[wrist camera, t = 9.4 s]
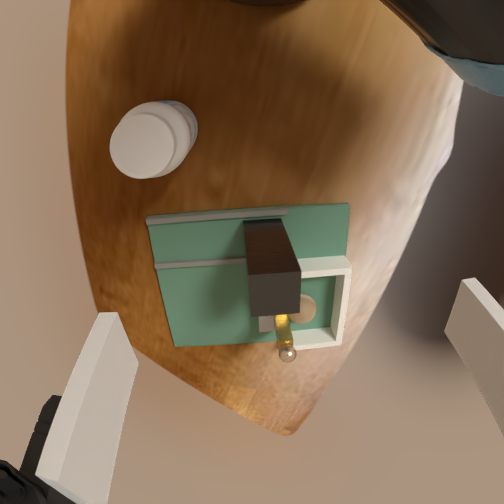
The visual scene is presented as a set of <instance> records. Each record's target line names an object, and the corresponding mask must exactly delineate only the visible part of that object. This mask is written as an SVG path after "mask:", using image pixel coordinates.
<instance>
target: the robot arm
mask: <svg viewBox="0 0 504 504" xmlns="http://www.w3.org/2000/svg"><path fill="white" fill-rule="evenodd" d="M231 1H234V2H238V3H242V4H248V5H257V6H272V5H281V4H286V3H290V2H294V1H297V0H231ZM380 1H381V2H382V3H383V4H384V5H386V6H387V7H388V8H389V9H390V10H391V11H392V12H394V13H395V14H396V15H397V16H398V17H399V18H400V19H401V20H402V21H403V22H404V23H406V24H407V25H408V26H409V27H410V28H411V29H412V30H413V31H414V32H415V33H416V34H417V35H418V36H419V37H420V39H421V40H422V42H423V43H424V45H425V46H426V47H427V48H428V49H429V50H430V51H431V52H433V53H434V54H436V55H437V56H439V57H441V58H442V59H443V60H444V61H445V62H446V63H447V64H448V65H449V67H450V68H451V69H452V70H453V71H454V72H455V73H456V74H457V75H458V76H459V77H460V78H461V79H462V80H464V81H465V82H466V83H468V84H469V85H471V86H473V87H475V88H478V89H482V90H484V91H485V92H488V93H490V94H493V95H499V96H504V0H380ZM444 332H445V334H446V335H447V337H448V338H449V340H450V341H451V343H452V345H453V346H454V348H455V349H456V351H457V352H458V354H459V356H460V357H461V359H462V361H463V362H464V364H465V366H466V367H467V369H468V371H469V372H470V374H471V376H472V378H473V379H474V381H475V383H476V384H477V386H478V388H479V390H480V392H481V393H482V395H483V397H484V399H485V401H486V403H487V404H488V406H489V408H490V410H491V412H492V414H493V416H494V418H495V420H496V422H497V423H498V425H499V427H500V429H501V431H502V434H503V436H504V310H503V309H502V308H501V306H500V305H499V304H498V303H497V302H496V300H494V298H493V297H492V296H491V295H490V294H489V293H488V291H487V290H486V289H485V288H484V287H483V286H482V285H481V284H480V282H479V281H478V280H477V279H476V278H471V279H465V280H462V281H461V285H460V288H459V291H458V294H457V297H456V300H455V303H454V306H453V308H452V311H451V314H450V317H449V320H448V323H447V325H446V328H445V330H444ZM138 364H139V363H138V361H137V359H136V356H135V354H134V352H133V350H132V347H131V345H130V342H129V340H128V337H127V335H126V333H125V330H124V328H123V325H122V323H121V320H120V318H119V315H118V312H103V313H99V314H98V317H97V319H96V320H95V322H94V325H93V327H92V329H91V331H90V333H89V335H88V338H87V340H86V342H85V344H84V346H83V349H82V351H81V353H80V355H79V357H78V360H77V362H76V364H75V367H74V369H73V371H72V374H71V376H70V378H69V381H68V383H67V386H66V389H65V391H64V393H63V396H56V395H52V397H51V398H50V399H49V400H48V401H47V402H46V404H45V405H44V406H43V408H42V410H41V413H40V415H39V418H38V422H37V423H36V426H35V428H34V432H33V434H32V436H31V439H30V442H29V445H28V447H27V451H26V453H25V456H24V459H23V462H22V465H21V468H20V470H19V471H18V470H17V469H15V468H14V467H13V466H12V465H11V464H9V463H8V462H7V461H4V460H0V504H107V502H108V495H109V491H110V485H111V480H112V474H113V470H114V464H115V460H116V455H117V450H118V446H119V441H120V436H121V432H122V428H123V424H124V419H125V415H126V411H127V407H128V403H129V399H130V395H131V390H132V387H133V383H134V379H135V375H136V372H137V368H138Z"/></svg>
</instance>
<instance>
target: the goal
mask: <svg viewBox="0 0 504 504" xmlns="http://www.w3.org/2000/svg"><path fill="white" fill-rule="evenodd" d="M297 260H298V263H299V266H300V268H301V271H302V274H301V278H311V277H322V276H334V275H336V282H335V292H334V301H333V309H332V317H331V325H330V327H325V328H316V329H307V330H297V331H291V332H292V336H293V347H294V348H295V349H296V350H304V349H312V348H321V347H329V346H336V345H341V342H342V336H343V330H344V324H345V317H346V311H347V304H348V297H349V290H350V283H351V275H352V266H351V265H350V263H349V262H348V260H347V258H346V257H345V255H342V256H329V257H315V258H302V259H297Z"/></svg>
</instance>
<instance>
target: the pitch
mask: <svg viewBox="0 0 504 504" xmlns="http://www.w3.org/2000/svg"><path fill="white" fill-rule="evenodd" d="M349 210H350V205H349V204H348V203H340V204H315V205H293V206H274V207H257V208H242V209H227V210H213V211H200V212H188V213H176V214H165V215H154V216H148V217H147V218H146V225H148V229H149V235H150V240H151V245H152V250H153V255H154V260H155V263H154V267H155V269H156V270H157V275H158V279H159V284H160V288H161V293H162V297H163V301H164V306H165V310H166V314H167V318H168V322H169V326H170V330H171V334H172V338H173V342H174V346H175V347H178V346H206V345H225V344H241V343H255V342H267V341H277V338H276V333H275V328H274V331H269V332H259V325H258V317H251V312H250V302H249V292H248V281H247V271H246V260H245V247H244V231H243V220H256V219H272V218H281V219H282V222H283V225H284V227H285V230H286V232H287V235H288V237H289V240H290V242H291V245H292V247H293V250H294V253H295V255H296V258H297V259H302V258H315V257H329V256H342V255H345V257H346V247H347V235H348V223H349ZM335 282H336V275H334V276H322V277H311V278H301V294H306V295H309V296H310V297H311V298H312V299H313V300H314V301H315V304H316V314H315V316H314V317H313V319H312V320H311V321H309V322H307V323H304V324H298V323H295V322H293V321H292V320H290V318H289V317H288V319H289V324H290V328H291V331H297V330H307V329H316V328H325V327H330V325H331V317H332V309H333V301H334V292H335Z"/></svg>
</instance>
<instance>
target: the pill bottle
mask: <svg viewBox="0 0 504 504" xmlns="http://www.w3.org/2000/svg"><path fill="white" fill-rule="evenodd" d="M197 133H198V124H197V120H196V117H195V115H194V113H193V112H192V111H191V110H190V109H189V108H188V107H187V106H186V105H184V104H182V103H180V102H177V101H171V100H166V101H156V102H148V103H144V104H141V105H138V106H136V107H134V108H133V109H131V110H130V111H129V112H128V113H126V114H125V116H124V117H123V118H122V119H121V121H120V123H119V124H118V126H117V127H116V128H115V130H114V132H113V134H112V136H111V140H110V154H111V158H112V160H113V162H114V164H115V165H116V167H117V168H118V169H119V170H120V171H121V172H122V173H124V174H125V175H127V176H129V177H132V178H137V179H146V178H156V177H161V176H164V175H166V174H168V173H170V172H172V171H173V170H174V169H176V168H177V167H178V166H179V165H180V164H181V163H182V161H183V160H184V159H185V157H186V156H187V154H188V153H189V151H190V150H191V148H192V147H193V145H194V143H195V140H196V138H197Z"/></svg>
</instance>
